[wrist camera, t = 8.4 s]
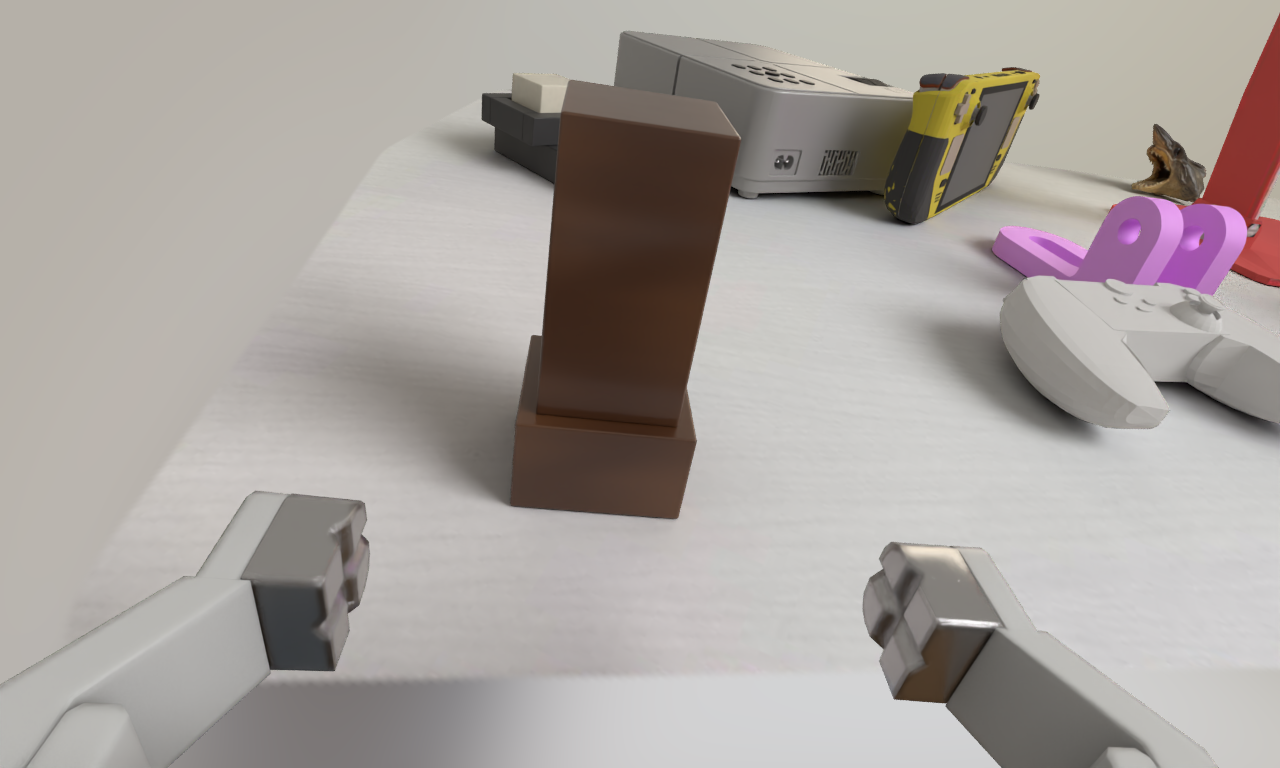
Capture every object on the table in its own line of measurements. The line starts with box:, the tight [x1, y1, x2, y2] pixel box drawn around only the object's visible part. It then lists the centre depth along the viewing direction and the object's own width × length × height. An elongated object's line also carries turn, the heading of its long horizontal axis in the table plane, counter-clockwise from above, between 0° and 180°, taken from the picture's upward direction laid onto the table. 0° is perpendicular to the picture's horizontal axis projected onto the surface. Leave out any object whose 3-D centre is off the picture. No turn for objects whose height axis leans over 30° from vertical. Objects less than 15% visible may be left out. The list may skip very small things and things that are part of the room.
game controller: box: [1000, 276, 1280, 429], centre depth 32 cm, size 14×4×10 cm
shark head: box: [1131, 124, 1206, 202], centre depth 71 cm, size 8×6×7 cm
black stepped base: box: [482, 93, 560, 183], centre depth 48 cm, size 9×11×4 cm
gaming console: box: [884, 67, 1040, 224], centre depth 56 cm, size 26×4×10 cm, turn 142°
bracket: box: [992, 196, 1247, 296], centre depth 43 cm, size 13×6×7 cm, turn 9°
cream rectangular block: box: [512, 73, 570, 113], centre depth 47 cm, size 4×4×2 cm
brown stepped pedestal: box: [510, 80, 741, 519], centre depth 20 cm, size 5×5×11 cm
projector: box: [614, 31, 914, 199], centre depth 58 cm, size 17×22×8 cm
